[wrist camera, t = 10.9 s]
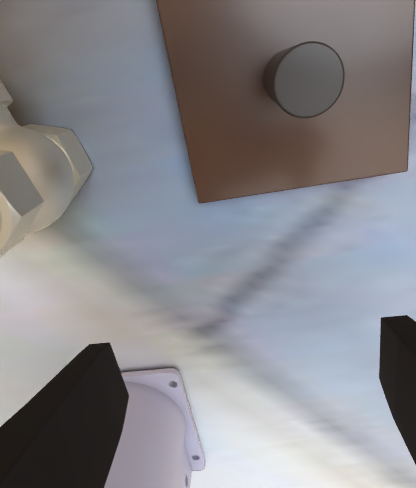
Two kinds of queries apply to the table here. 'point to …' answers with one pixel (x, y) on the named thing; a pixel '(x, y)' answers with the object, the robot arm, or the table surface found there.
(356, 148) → the ring stand
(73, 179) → the valve
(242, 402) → the table surface
